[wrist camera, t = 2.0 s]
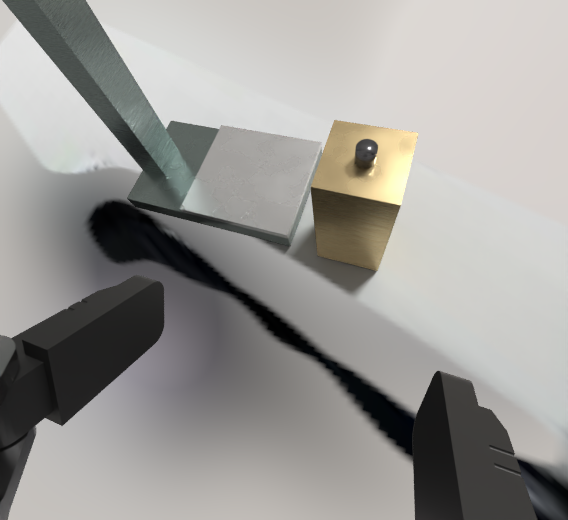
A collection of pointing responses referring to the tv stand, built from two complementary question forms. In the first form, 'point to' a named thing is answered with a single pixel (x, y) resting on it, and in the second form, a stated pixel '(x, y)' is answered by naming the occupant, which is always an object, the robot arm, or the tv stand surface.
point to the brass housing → (360, 191)
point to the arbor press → (177, 137)
